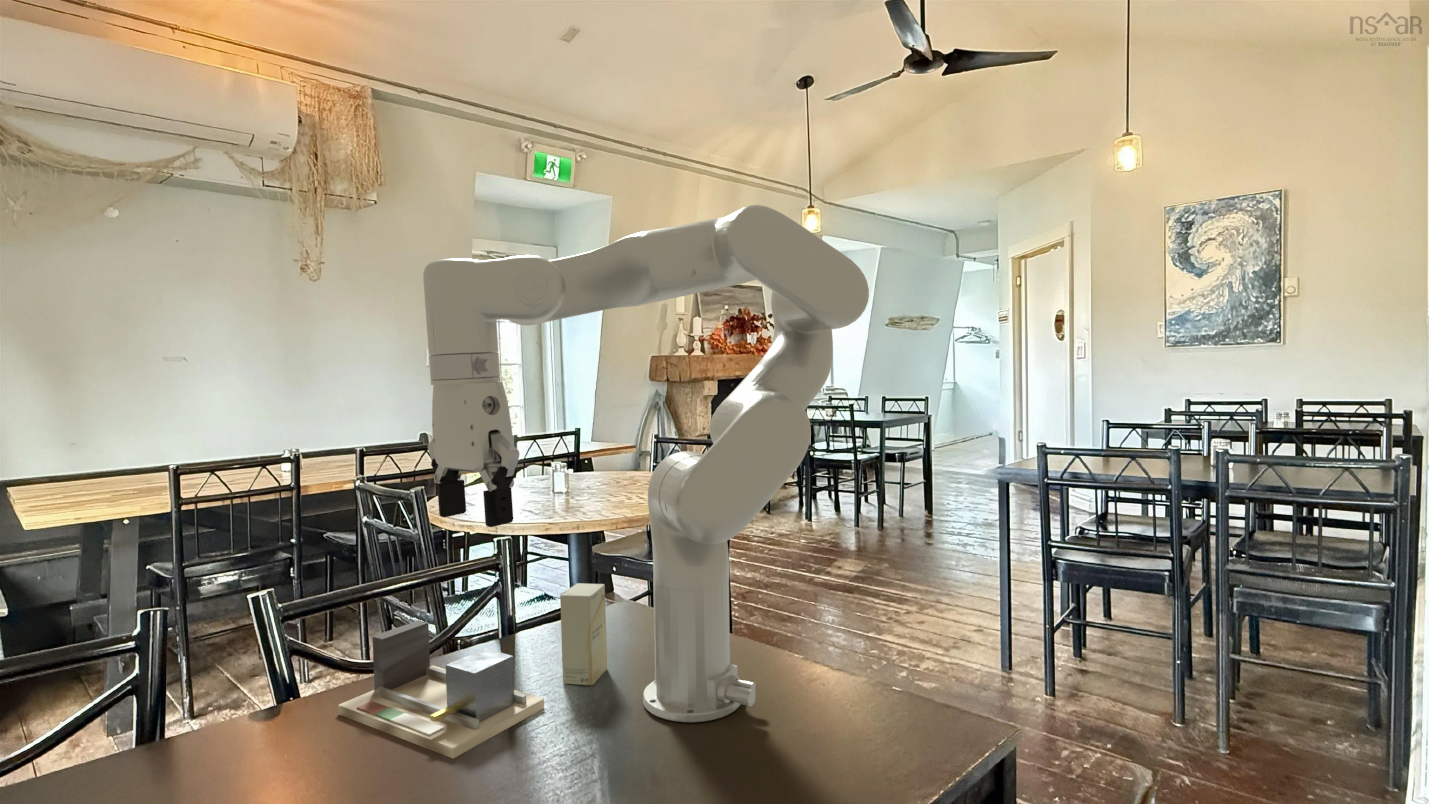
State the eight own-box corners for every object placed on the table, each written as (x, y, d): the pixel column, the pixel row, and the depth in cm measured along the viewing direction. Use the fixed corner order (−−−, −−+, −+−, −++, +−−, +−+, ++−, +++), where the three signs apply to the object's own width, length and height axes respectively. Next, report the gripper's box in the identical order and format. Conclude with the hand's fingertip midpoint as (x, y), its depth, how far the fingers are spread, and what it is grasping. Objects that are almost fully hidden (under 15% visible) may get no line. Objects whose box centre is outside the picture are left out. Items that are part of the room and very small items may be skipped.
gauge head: (514, 703, 94) (513, 655, 94) (447, 738, 86) (446, 686, 85) (486, 694, 97) (484, 648, 97) (418, 727, 88) (416, 676, 88)
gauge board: (544, 708, 96) (542, 643, 95) (453, 758, 84) (450, 685, 83) (433, 673, 107) (430, 615, 106) (338, 714, 95) (335, 649, 94)
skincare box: (592, 687, 102) (590, 596, 101) (561, 684, 103) (558, 595, 102) (608, 668, 108) (606, 583, 107) (578, 666, 109) (576, 581, 108)
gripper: (538, 367, 84) (548, 521, 85) (455, 370, 95) (464, 506, 97) (477, 370, 78) (488, 536, 80) (396, 373, 90) (407, 517, 91)
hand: (475, 519), depth 88 cm, fingers open, 9 cm apart
